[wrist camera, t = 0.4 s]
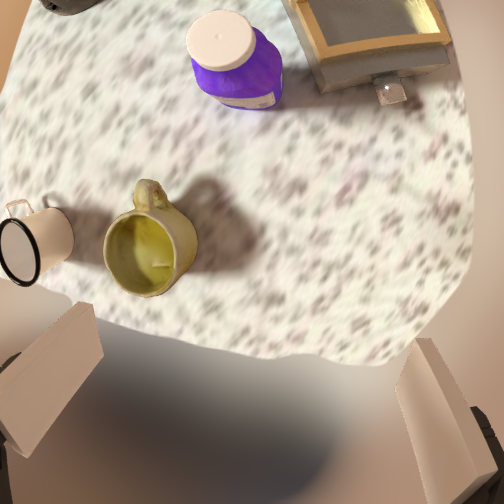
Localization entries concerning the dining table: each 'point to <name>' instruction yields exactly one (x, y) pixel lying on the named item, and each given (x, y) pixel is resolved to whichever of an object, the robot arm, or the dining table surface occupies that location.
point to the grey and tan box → (369, 42)
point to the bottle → (235, 61)
